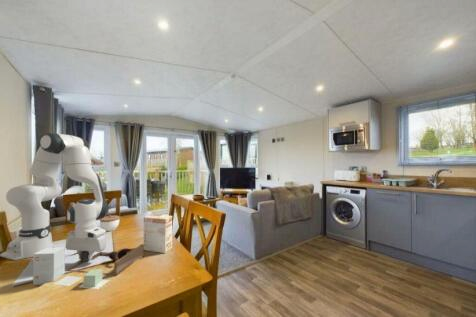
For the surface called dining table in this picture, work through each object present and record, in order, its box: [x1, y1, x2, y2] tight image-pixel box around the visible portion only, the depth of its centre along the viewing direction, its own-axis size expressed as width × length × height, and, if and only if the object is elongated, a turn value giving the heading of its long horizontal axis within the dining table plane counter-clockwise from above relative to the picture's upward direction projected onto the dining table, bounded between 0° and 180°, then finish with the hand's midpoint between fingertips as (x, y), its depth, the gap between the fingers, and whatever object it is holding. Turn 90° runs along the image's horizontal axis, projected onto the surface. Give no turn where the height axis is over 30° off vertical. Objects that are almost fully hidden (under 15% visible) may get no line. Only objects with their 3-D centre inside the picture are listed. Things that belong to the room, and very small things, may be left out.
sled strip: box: [65, 243, 144, 277], centre depth 99 cm, size 27×19×7 cm
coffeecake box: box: [142, 213, 173, 254], centre depth 117 cm, size 15×7×20 cm, turn 74°
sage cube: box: [83, 268, 103, 287], centre depth 82 cm, size 4×4×4 cm
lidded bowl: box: [99, 214, 121, 232], centre depth 149 cm, size 13×13×11 cm
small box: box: [32, 246, 66, 286], centre depth 86 cm, size 8×6×13 cm
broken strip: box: [52, 275, 110, 290], centre depth 83 cm, size 21×6×1 cm, turn 82°
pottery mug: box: [108, 247, 133, 263], centre depth 100 cm, size 12×10×8 cm
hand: (85, 258), depth 101 cm, fingers open, 3 cm apart
